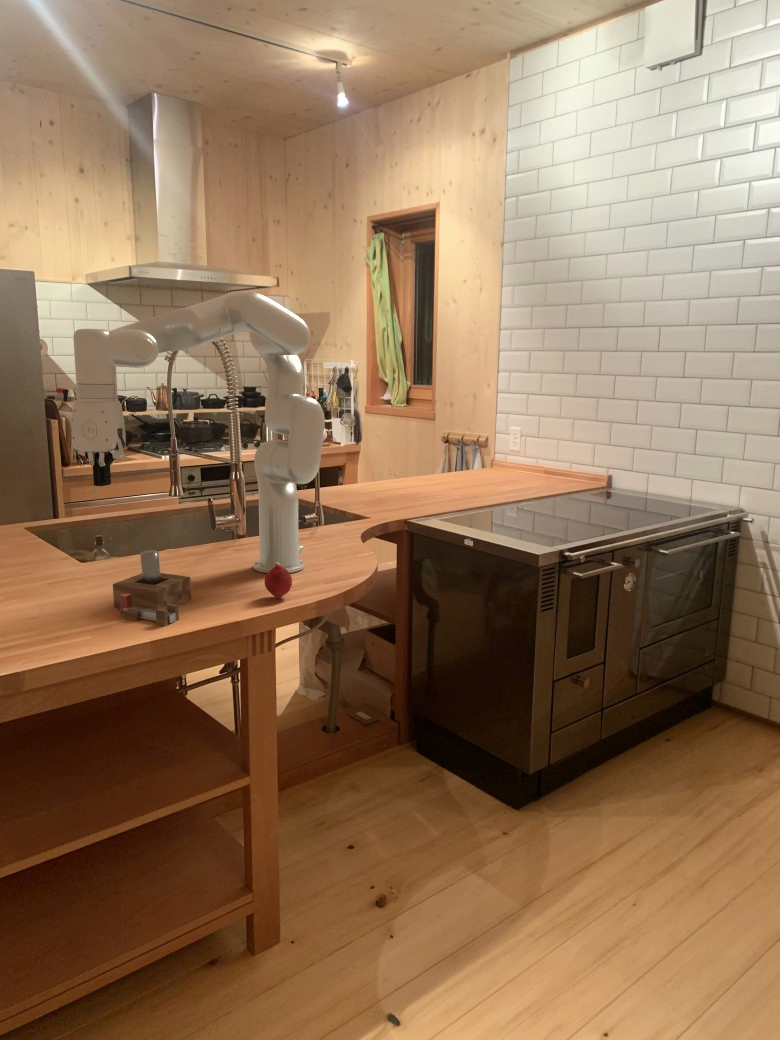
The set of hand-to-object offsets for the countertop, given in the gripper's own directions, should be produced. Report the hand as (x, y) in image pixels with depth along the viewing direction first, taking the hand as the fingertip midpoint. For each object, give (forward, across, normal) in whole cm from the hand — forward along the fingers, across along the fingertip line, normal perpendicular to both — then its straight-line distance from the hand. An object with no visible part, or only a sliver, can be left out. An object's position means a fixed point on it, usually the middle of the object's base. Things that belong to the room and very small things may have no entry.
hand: (102, 485), depth 156 cm
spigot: (+24, +8, +4) cm, 26 cm away
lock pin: (+25, +13, -5) cm, 29 cm away
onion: (+25, +30, +18) cm, 43 cm away
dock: (+25, +11, +1) cm, 27 cm away
